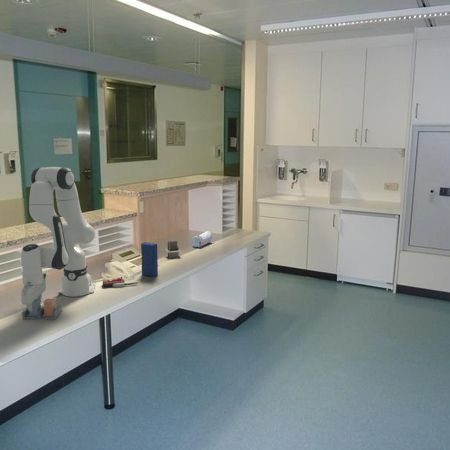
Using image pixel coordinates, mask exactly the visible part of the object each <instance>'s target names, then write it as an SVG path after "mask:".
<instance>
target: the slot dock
mask: <svg viewBox="0 0 450 450" xmlns="http://www.w3.org/2000/svg"><path fill="white" fill-rule="evenodd" d="M62 312H63V304H59V305H58V306H57V307H56V309H55V310H54V311H53V312H52V315H44V305H43V306H41V309H40V310H39V311H38V312H37V315H29V311H28V307H27V308H25V309H24V310H23V311H22V315H21V316H22V320H38V321H39V320H46V321H47V320H48V321H51V320H56V319H57V318H58V317H59V316H60V315H61V314H62Z"/></svg>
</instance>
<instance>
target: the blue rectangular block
mask: <svg viewBox="0 0 450 450" xmlns="http://www.w3.org/2000/svg"><path fill="white" fill-rule="evenodd" d="M140 247H141V248H140V249H141V250H140V251H141V275H144V276H148V275H149V277H156V276H158V273H159V270H158V269H159V268H158V266H159V265H158V263H159V262H158V260H159V259H158V243H155V242H147V241H144V242H141V243H140Z"/></svg>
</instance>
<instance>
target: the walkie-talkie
mask: <svg viewBox="0 0 450 450" xmlns="http://www.w3.org/2000/svg"><path fill="white" fill-rule="evenodd" d="M137 284H138V282H137V281H136V282H128V283H127V282H126V283H125V279H124V278H123V277H121V276H117V277H116V276H115V277H112V278H108V279H106V280H105V279H104V280H102V285H101V287H102V288H106V289H107V288H124V287H125V286H130V285H131V286H132V285H137Z"/></svg>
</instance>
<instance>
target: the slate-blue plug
mask: <svg viewBox="0 0 450 450" xmlns="http://www.w3.org/2000/svg"><path fill="white" fill-rule="evenodd" d="M41 304H42V301H41V302H40V299H37V298H36V299H35V300H34V301H33V302H32V306H33V310H32V311H29V315H37V312H38V311H39V310H40V309H41V308H42V305H41Z"/></svg>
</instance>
